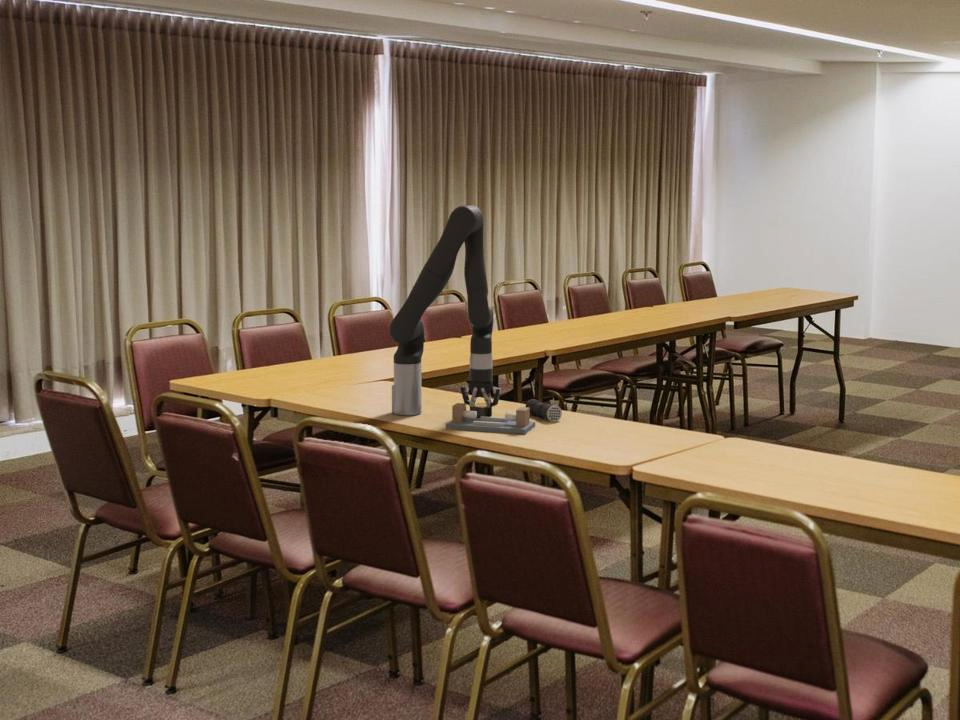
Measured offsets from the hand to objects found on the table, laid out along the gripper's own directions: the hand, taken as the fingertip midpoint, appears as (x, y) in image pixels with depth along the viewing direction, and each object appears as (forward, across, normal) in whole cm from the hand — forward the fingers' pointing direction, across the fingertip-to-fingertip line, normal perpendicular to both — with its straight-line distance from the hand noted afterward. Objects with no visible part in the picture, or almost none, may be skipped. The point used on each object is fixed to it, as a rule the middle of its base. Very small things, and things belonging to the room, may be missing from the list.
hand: (480, 417), depth 379 cm
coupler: (0, 0, 0) cm, 0 cm away
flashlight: (+1, +19, +9) cm, 21 cm away
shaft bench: (0, +7, -12) cm, 14 cm away
